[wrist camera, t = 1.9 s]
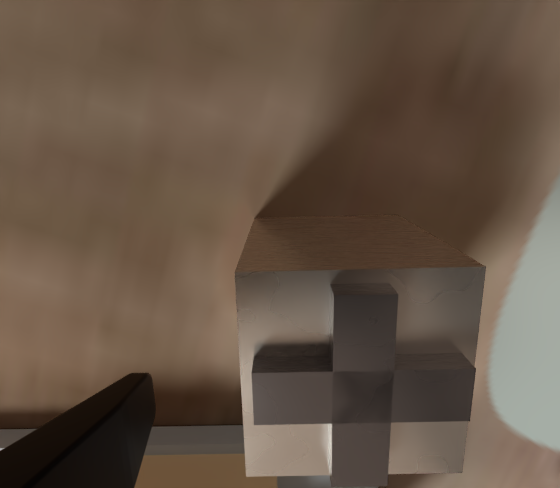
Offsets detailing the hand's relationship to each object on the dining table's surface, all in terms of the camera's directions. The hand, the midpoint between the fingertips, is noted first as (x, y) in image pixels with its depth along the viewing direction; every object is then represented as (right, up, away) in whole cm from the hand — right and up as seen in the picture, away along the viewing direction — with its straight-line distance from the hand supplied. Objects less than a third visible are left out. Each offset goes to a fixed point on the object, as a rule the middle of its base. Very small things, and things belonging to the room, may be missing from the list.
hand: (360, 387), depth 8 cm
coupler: (0, +2, +6) cm, 6 cm away
